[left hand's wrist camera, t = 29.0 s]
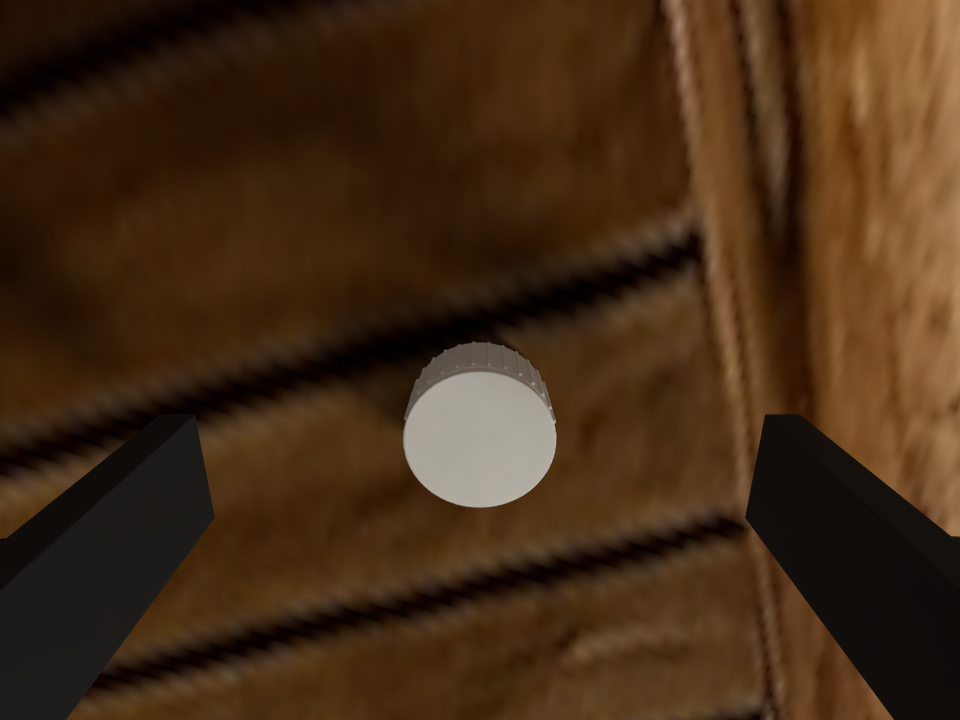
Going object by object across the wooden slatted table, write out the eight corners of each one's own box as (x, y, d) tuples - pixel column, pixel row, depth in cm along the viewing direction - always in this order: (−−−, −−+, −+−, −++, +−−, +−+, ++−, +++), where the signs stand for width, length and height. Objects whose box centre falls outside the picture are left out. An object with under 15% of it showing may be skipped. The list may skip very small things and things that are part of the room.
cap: (419, 469, 16) (411, 515, 14) (402, 345, 15) (390, 375, 13) (550, 459, 16) (561, 504, 14) (545, 334, 15) (555, 363, 13)
